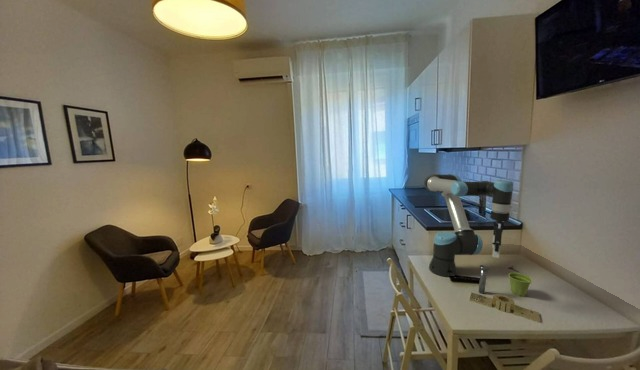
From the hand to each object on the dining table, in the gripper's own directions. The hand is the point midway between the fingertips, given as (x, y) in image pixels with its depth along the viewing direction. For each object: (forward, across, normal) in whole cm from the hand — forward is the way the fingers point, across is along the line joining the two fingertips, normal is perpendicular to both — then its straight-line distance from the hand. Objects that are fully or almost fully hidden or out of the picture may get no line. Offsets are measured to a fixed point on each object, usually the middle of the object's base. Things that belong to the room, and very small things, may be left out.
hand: (495, 252), depth 127 cm
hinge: (+21, -13, -5) cm, 25 cm away
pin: (+21, -4, +4) cm, 22 cm away
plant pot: (+21, +6, -12) cm, 25 cm away
